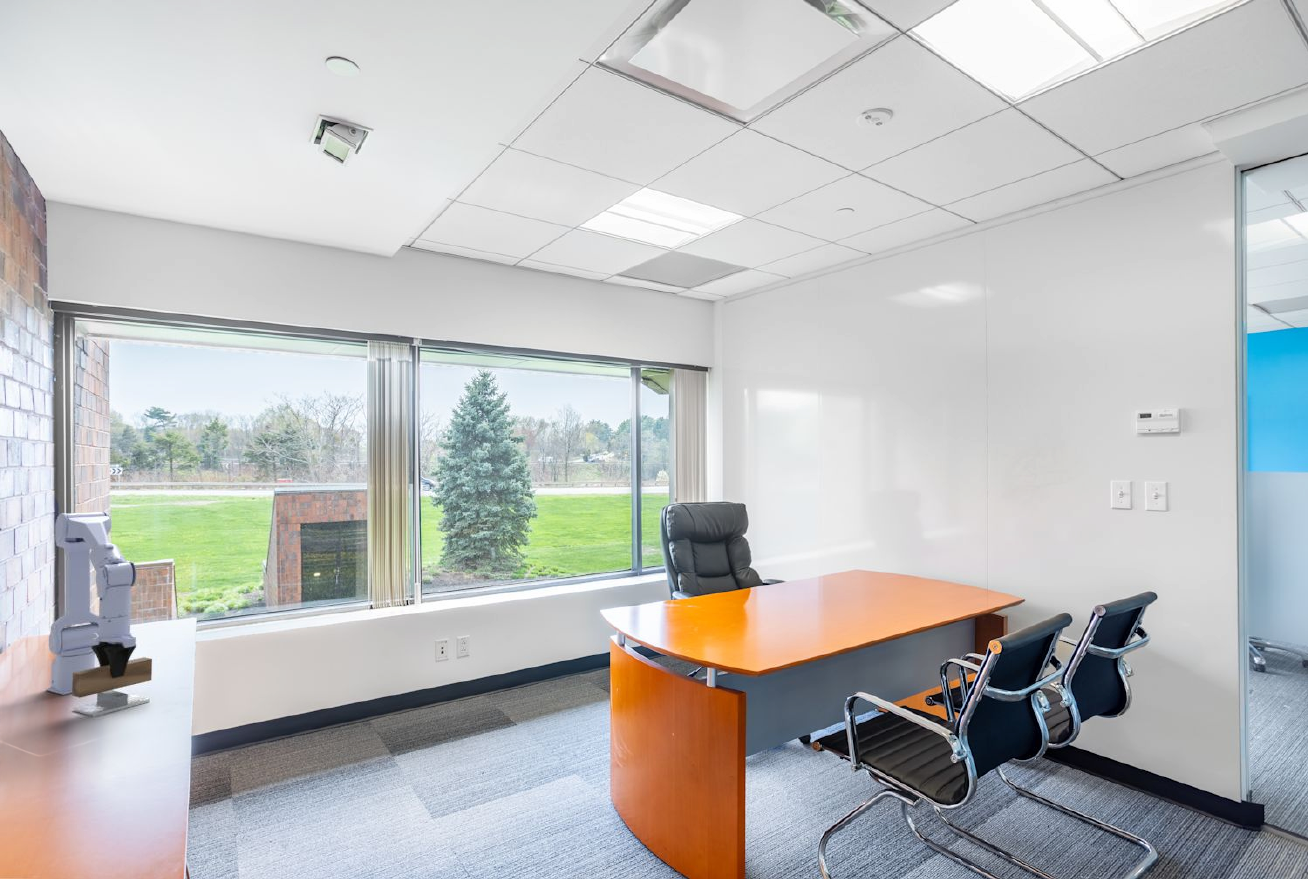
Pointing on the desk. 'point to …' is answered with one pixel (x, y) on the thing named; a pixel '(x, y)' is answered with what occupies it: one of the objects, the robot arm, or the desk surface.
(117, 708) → the balance stand
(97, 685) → the walnut rod
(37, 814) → the desk surface
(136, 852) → the desk surface
